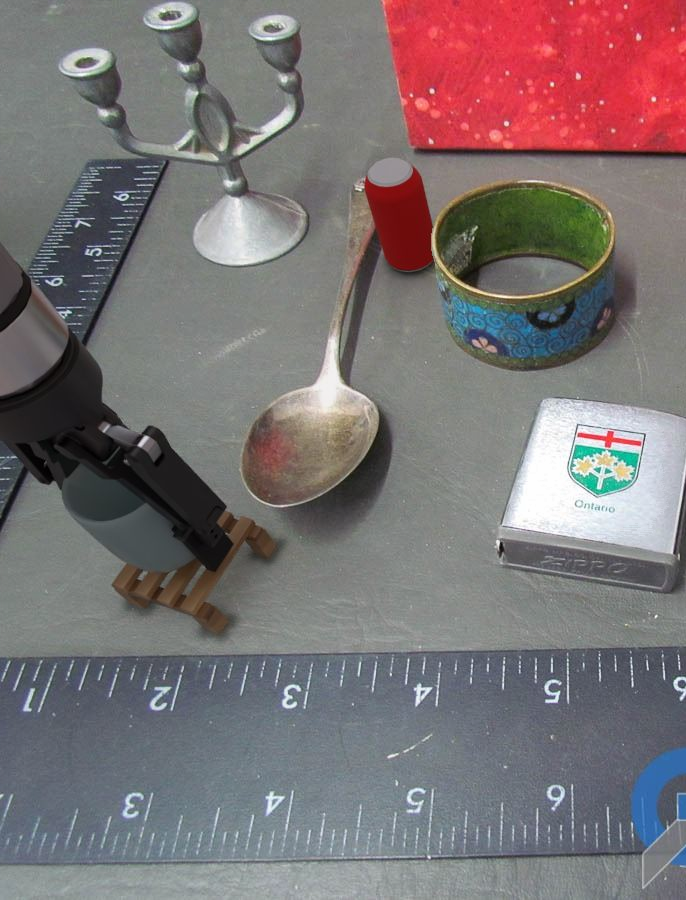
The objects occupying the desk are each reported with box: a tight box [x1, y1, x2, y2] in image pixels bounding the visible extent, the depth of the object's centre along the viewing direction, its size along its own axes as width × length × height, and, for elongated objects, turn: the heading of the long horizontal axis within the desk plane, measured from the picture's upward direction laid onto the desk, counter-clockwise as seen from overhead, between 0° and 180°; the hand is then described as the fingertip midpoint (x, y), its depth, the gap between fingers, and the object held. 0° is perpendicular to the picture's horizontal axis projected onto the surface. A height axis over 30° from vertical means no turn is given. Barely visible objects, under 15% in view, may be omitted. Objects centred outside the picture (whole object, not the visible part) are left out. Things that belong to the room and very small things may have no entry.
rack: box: [110, 510, 277, 636], centre depth 71 cm, size 9×9×4 cm
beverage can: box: [363, 157, 434, 273], centre depth 91 cm, size 6×6×12 cm
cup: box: [60, 447, 196, 573], centre depth 64 cm, size 8×8×10 cm
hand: (175, 542), depth 68 cm, fingers closed on cup, 8 cm apart
